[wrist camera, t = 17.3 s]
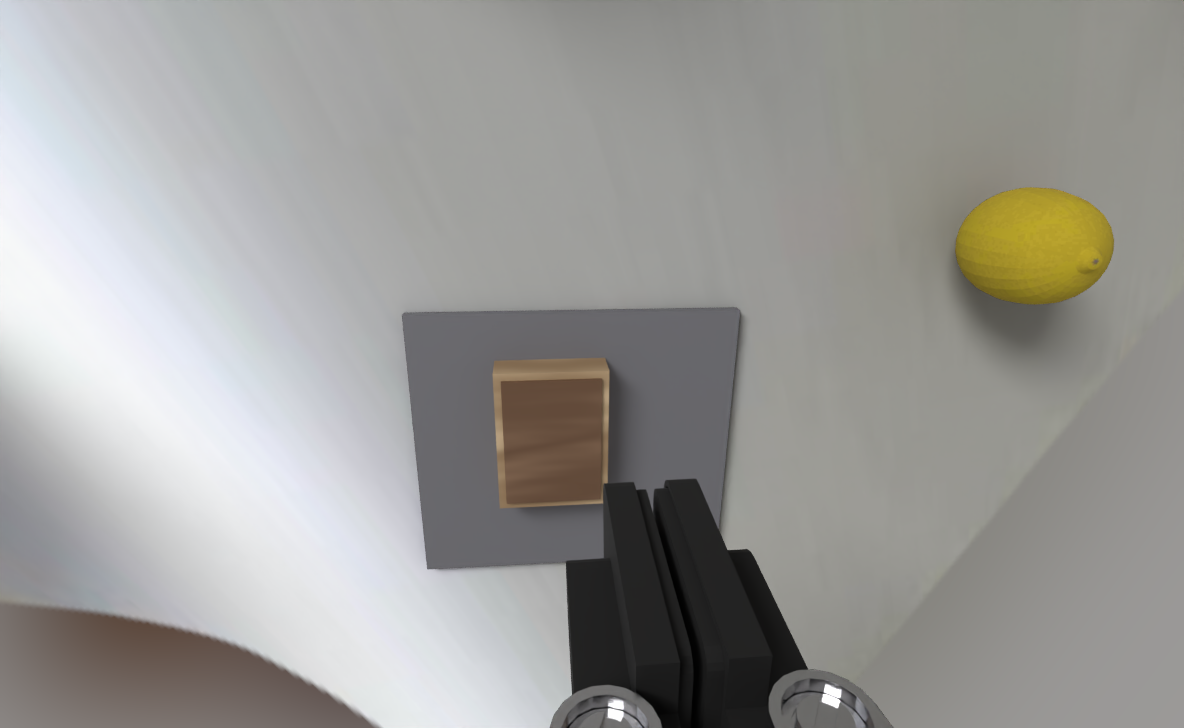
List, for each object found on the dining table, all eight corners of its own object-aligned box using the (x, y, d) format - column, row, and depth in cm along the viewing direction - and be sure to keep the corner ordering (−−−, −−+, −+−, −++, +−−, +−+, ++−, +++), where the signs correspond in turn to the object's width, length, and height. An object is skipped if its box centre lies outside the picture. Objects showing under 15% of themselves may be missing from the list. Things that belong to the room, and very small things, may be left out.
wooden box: (607, 505, 35) (610, 372, 32) (499, 510, 34) (492, 375, 32) (603, 484, 37) (604, 357, 34) (501, 489, 36) (494, 360, 34)
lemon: (1020, 169, 33) (1162, 180, 26) (1021, 267, 35) (1153, 304, 28) (921, 197, 33) (1034, 217, 26) (927, 294, 35) (1034, 338, 28)
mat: (736, 307, 35) (740, 310, 34) (713, 547, 40) (716, 553, 40) (404, 312, 33) (401, 315, 32) (428, 562, 38) (427, 569, 38)
